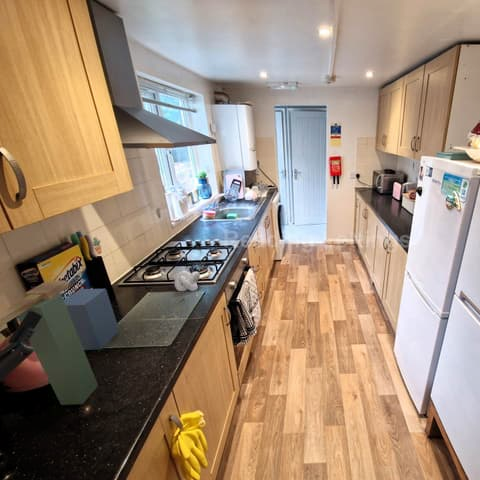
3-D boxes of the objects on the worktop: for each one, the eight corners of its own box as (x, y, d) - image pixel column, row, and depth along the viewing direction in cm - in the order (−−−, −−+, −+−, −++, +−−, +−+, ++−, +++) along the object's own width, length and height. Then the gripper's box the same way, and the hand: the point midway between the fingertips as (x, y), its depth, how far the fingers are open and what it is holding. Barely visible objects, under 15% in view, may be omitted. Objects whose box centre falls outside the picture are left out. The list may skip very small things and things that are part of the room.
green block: (62, 407, 75) (12, 307, 62) (78, 388, 80) (36, 293, 68) (84, 406, 75) (39, 307, 63) (99, 387, 81) (60, 293, 68)
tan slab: (49, 287, 71) (47, 280, 70) (69, 286, 71) (66, 280, 71) (-29, 333, 54) (-34, 325, 54) (-3, 332, 55) (-8, 325, 54)
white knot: (192, 280, 141) (189, 265, 138) (208, 286, 136) (205, 270, 133) (172, 290, 132) (169, 274, 129) (188, 297, 127) (185, 280, 124)
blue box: (75, 352, 94) (55, 305, 86) (96, 333, 103) (80, 289, 96) (102, 351, 94) (84, 304, 87) (120, 332, 104) (105, 288, 96)
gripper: (-30, 429, 42) (49, 305, 56) (-200, 435, 41) (-78, 307, 54) (11, 431, 48) (74, 319, 61) (-137, 437, 47) (-40, 321, 60)
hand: (3, 313), depth 58 cm, fingers open, 13 cm apart
